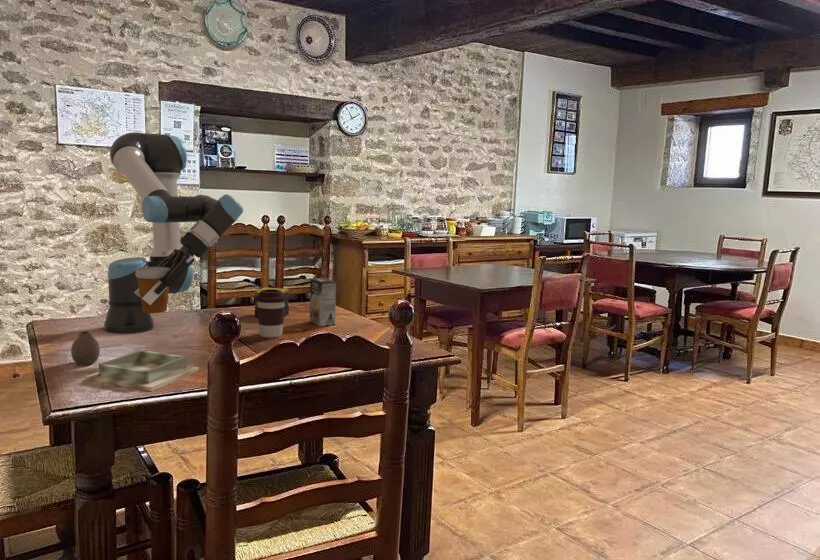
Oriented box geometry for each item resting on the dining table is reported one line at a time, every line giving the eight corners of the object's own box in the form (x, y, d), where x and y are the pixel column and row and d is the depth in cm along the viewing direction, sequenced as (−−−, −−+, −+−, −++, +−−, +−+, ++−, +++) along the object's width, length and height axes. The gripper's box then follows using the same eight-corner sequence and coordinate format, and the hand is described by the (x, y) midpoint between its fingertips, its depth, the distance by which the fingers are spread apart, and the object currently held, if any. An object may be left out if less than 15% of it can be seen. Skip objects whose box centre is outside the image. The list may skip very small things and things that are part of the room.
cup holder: (85, 380, 159) (85, 364, 158) (137, 361, 176) (137, 347, 175) (151, 391, 153) (151, 375, 152) (198, 371, 170) (198, 356, 169)
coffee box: (308, 321, 232) (309, 278, 230) (324, 319, 236) (325, 277, 233) (320, 326, 225) (320, 282, 222) (336, 325, 228) (337, 280, 226)
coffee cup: (278, 340, 204) (279, 294, 202) (250, 337, 206) (250, 292, 204) (290, 333, 214) (291, 289, 211) (263, 330, 216) (263, 287, 213)
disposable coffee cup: (177, 312, 177) (175, 269, 175) (141, 316, 171) (139, 272, 170) (167, 306, 185) (166, 265, 183) (132, 309, 179) (131, 267, 177)
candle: (264, 312, 245) (264, 287, 243) (289, 314, 243) (289, 288, 242) (253, 318, 235) (254, 291, 233) (280, 320, 233) (280, 293, 232)
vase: (81, 368, 168) (79, 336, 167) (66, 364, 172) (64, 332, 170) (105, 362, 174) (104, 331, 172) (90, 358, 177) (89, 327, 176)
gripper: (220, 252, 175) (162, 314, 169) (197, 244, 193) (143, 300, 186) (201, 233, 172) (140, 296, 165) (178, 227, 189) (123, 284, 182)
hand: (142, 298), depth 176 cm, fingers closed on disposable coffee cup, 9 cm apart
